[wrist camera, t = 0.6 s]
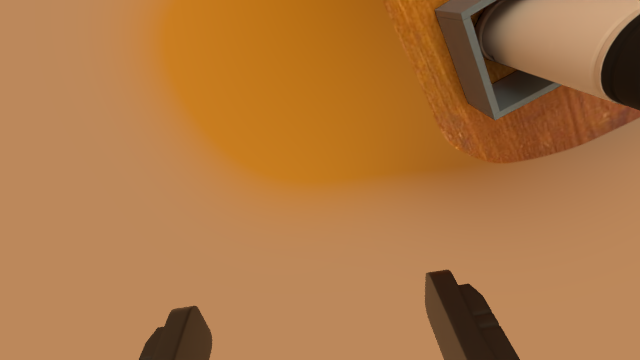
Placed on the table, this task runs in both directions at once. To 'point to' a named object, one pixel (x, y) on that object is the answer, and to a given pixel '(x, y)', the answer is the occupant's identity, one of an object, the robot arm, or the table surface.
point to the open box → (472, 66)
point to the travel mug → (568, 43)
